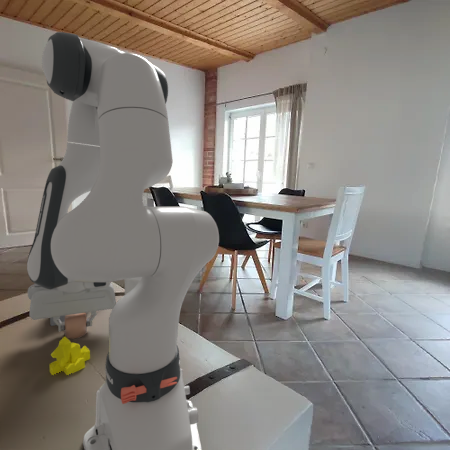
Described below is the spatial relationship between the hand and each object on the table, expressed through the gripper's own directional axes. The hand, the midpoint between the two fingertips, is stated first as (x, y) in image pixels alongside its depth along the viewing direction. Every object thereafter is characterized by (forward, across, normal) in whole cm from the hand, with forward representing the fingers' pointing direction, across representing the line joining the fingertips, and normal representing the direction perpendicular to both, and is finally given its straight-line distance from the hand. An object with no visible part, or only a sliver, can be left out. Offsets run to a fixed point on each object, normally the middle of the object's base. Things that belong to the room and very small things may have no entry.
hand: (75, 327), depth 76 cm
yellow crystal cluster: (+2, -1, -14) cm, 14 cm away
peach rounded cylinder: (+2, 0, 0) cm, 2 cm away
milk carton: (+2, +17, -1) cm, 17 cm away
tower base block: (+2, -3, +10) cm, 11 cm away
